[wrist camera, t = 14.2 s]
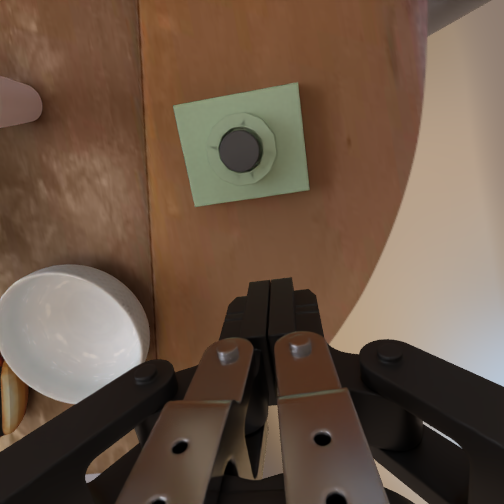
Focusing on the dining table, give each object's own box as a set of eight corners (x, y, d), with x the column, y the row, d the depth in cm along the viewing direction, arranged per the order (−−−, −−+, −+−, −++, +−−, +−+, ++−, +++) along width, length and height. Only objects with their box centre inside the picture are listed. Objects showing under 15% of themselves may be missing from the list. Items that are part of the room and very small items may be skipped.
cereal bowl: (179, 356, 47) (162, 395, 40) (67, 375, 49) (34, 415, 43) (134, 236, 41) (106, 258, 35) (11, 265, 44) (-37, 290, 37)
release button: (257, 126, 33) (255, 127, 31) (263, 166, 34) (262, 168, 32) (219, 133, 33) (215, 134, 32) (226, 172, 34) (223, 174, 33)
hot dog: (36, 344, 48) (9, 369, 43) (35, 417, 53) (12, 446, 48) (0, 336, 48) (-31, 359, 43) (3, 410, 53) (-25, 438, 48)
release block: (297, 84, 35) (299, 80, 31) (308, 186, 38) (311, 193, 34) (178, 106, 36) (166, 104, 32) (199, 202, 39) (190, 211, 36)
